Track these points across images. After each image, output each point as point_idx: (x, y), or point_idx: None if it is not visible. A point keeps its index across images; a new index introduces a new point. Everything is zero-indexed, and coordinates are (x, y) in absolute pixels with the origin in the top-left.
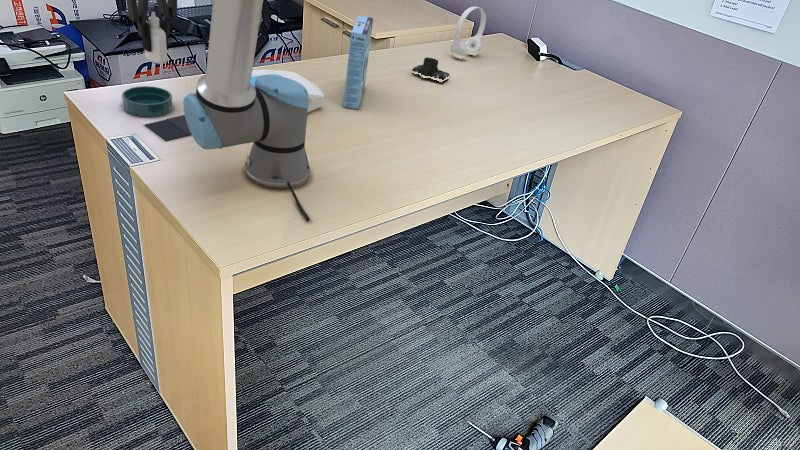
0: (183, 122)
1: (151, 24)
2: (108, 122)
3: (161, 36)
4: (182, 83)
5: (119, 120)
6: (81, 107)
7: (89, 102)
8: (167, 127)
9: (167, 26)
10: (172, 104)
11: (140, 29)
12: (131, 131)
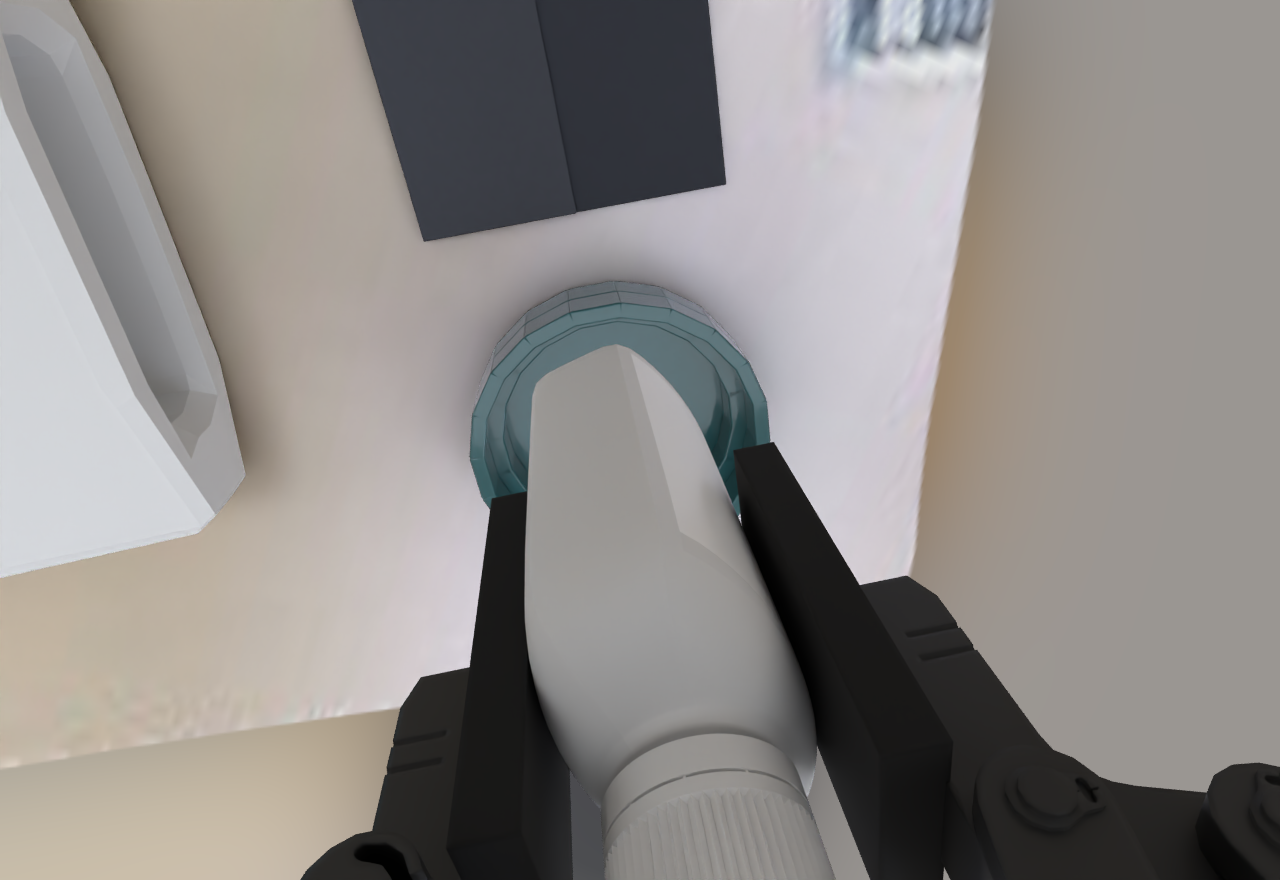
0: (484, 119)
1: (796, 797)
2: (883, 287)
3: (633, 531)
4: (333, 663)
5: (822, 296)
6: (914, 490)
7: (857, 534)
8: (610, 85)
9: (431, 801)
10: (479, 386)
11: (989, 689)
12: (827, 123)
